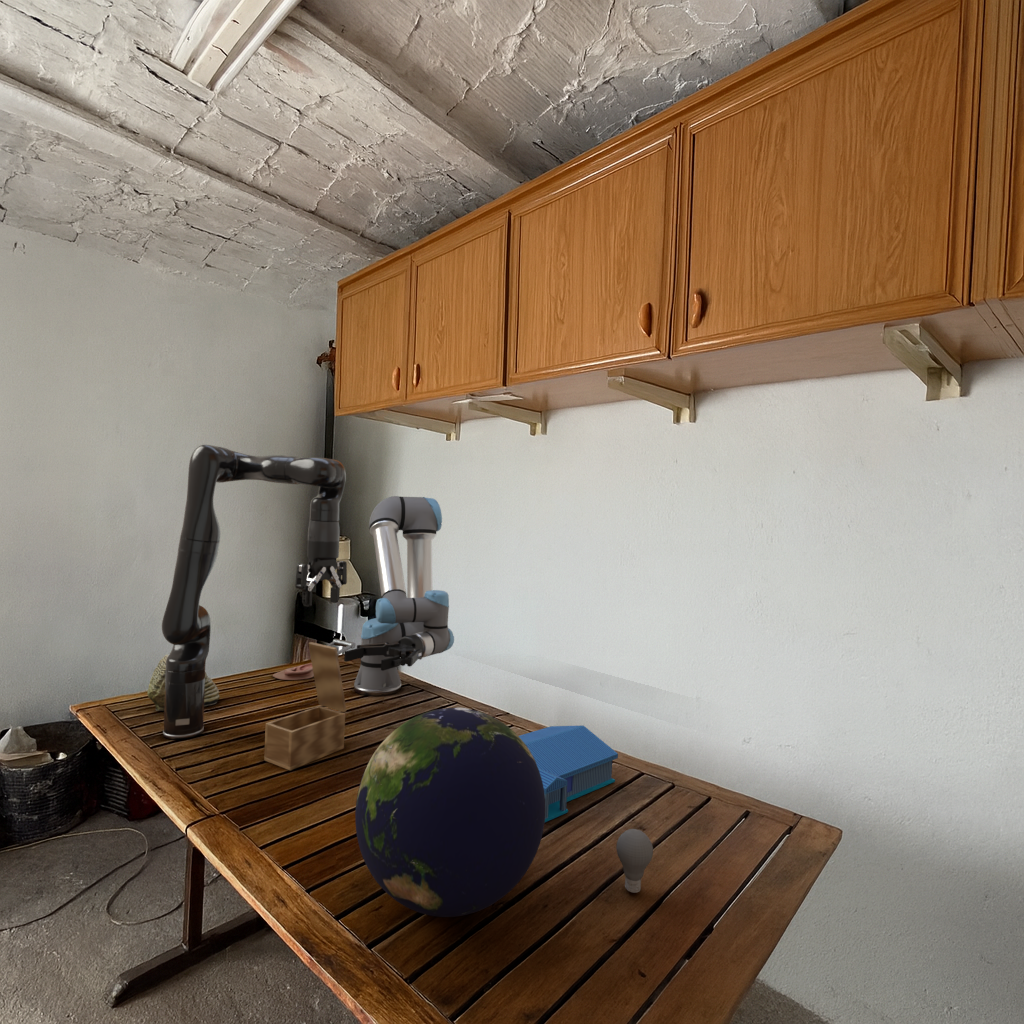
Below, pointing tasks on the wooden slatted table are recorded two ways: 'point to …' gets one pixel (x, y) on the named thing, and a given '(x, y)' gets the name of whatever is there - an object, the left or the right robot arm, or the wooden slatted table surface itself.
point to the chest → (304, 737)
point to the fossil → (158, 687)
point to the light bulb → (634, 857)
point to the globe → (450, 812)
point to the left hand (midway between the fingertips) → (321, 604)
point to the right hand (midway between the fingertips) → (363, 660)
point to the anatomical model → (296, 673)
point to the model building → (569, 764)
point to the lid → (329, 673)
